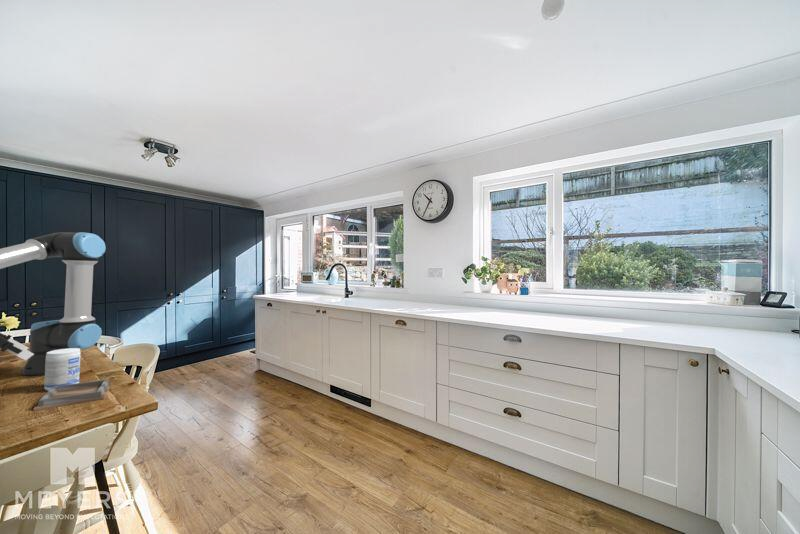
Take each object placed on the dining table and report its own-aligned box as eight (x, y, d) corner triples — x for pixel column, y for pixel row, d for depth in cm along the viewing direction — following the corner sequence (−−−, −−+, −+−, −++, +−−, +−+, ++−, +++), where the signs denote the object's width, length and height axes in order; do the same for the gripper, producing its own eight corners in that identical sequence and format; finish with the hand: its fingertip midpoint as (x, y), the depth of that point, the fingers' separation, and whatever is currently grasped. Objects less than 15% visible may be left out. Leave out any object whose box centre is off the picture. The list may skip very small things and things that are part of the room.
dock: (50, 393, 115) (51, 386, 115) (111, 384, 125) (111, 378, 125) (33, 410, 102) (33, 402, 102) (103, 399, 112) (103, 391, 112)
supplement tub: (74, 388, 120) (76, 352, 121) (39, 393, 115) (41, 355, 115) (82, 381, 128) (84, 346, 129) (49, 385, 123) (51, 349, 123)
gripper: (-55, 323, 107) (11, 356, 119) (-56, 332, 93) (19, 369, 105) (-28, 307, 111) (33, 340, 123) (-25, 313, 97) (44, 351, 109)
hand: (27, 353), depth 114 cm, fingers open, 13 cm apart
